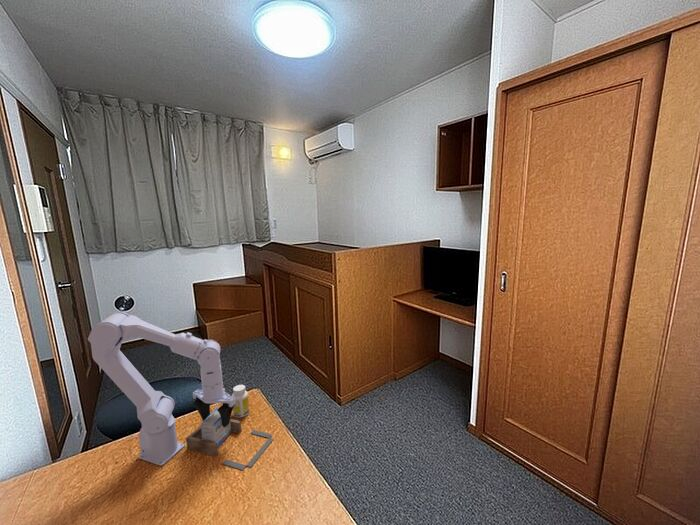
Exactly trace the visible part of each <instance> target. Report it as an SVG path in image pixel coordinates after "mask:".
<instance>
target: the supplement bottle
mask: <svg viewBox="0 0 700 525" xmlns="http://www.w3.org/2000/svg"><path fill="white" fill-rule="evenodd" d="M232 391H233V393H232V394H231V396H232V397H235V399H236V404H235V406H234V408H233V410H232V414H233V416H234V418H237V419H239V418H243V417H246V416H248V415H249V413H250V402H249V393H248V391H247V390H246V385H244V384H238V385H235V386H234V387H233V388H232Z"/></svg>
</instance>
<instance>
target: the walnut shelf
mask: <svg viewBox="0 0 700 525" xmlns="http://www.w3.org/2000/svg"><path fill="white" fill-rule="evenodd" d="M230 425H231V432H233V433H238V434H240V433H242V421H241V420H237V419H233V418H230ZM185 442H186V449H187V450H191V451H194V452H197V453H201V454H204V455H206V456H210V457H214V458H217V457H218V456H219V455H220V454H219V447H218V444H216V443H212V442H209V441H205V440H203V439H202V430H201V425H200V426H199V427H197V428H196V429H195V430H193V432H191V433H190V434H189V435H188V436H186V437H185Z"/></svg>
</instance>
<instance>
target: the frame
mask: <svg viewBox="0 0 700 525" xmlns="http://www.w3.org/2000/svg"><path fill="white" fill-rule="evenodd" d="M250 435H254V436H258V437H262V438H266V441H265V442H264V443H263V445H262V446H261V447H260V448H259V450H258V451H257V452H256V453H255V454H254V456H253V457H252V458H251V459H250V461H249V462H248V463H247V464H243V463H240V462H236V461H233V460H230V459H227V458H226V459H225V460H224V461H222V463H221V464H222V465H224V466H227V467H230V468H232V469H233V468H234V469H236V470H238V471H239V470H240V471H244V470H245V469H246V468H247V467H248V468H253V466H254V465H255V464H256V463H257V461H258V460H259V459H260V457H261V455H263V453H264V452H265V451H266V450H267V449H268V447H269V446H270V444H271V443H272V442H273V441H274V438H271V437H272V436H273V434H271V433H269V432H268V433H267V432H264V431H259V430H255V429H252V430H251V431H250Z"/></svg>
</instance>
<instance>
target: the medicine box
mask: <svg viewBox="0 0 700 525" xmlns="http://www.w3.org/2000/svg"><path fill="white" fill-rule="evenodd" d="M219 407H220V406H218V407H216V408H215V409H214V410H213V411H212V412H210V415H209V416H208V417H207V418H206V419H205V420H204V421H203V420H202V422H200V426H201V430H202V440H205V441H209V442H212V443H216V444H218V448H219V447H220V446H221V445H222V444H223V442H224V441H225V440H226V438H227V437H229V435H230V434H231V433H232V431H231V425H230V423H229V424H228V425H227V426H226V427H223V425H222V420H221V416H220V414H219V412H218V411H217V409H218V408H219Z"/></svg>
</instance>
